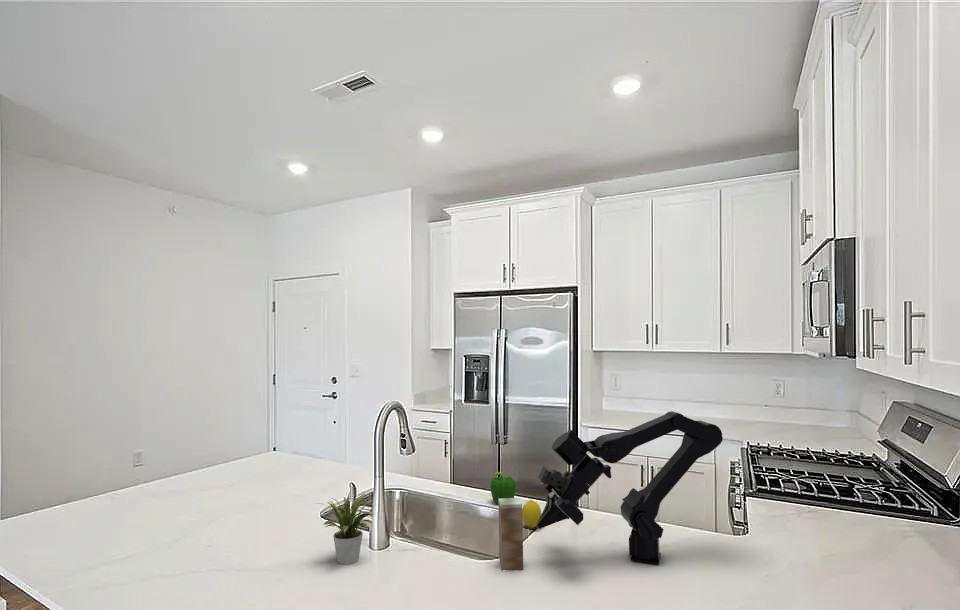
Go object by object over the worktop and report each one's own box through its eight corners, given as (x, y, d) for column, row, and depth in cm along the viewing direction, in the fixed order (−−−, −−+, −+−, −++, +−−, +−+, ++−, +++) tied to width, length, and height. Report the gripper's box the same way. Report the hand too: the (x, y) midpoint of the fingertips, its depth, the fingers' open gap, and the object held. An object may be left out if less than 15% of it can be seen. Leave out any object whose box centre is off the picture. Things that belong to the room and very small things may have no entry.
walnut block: (519, 560, 125) (518, 497, 126) (523, 569, 120) (522, 504, 121) (499, 561, 125) (498, 498, 126) (502, 571, 120) (501, 505, 121)
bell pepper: (519, 500, 173) (518, 469, 173) (512, 507, 165) (511, 476, 166) (495, 498, 175) (494, 468, 176) (487, 505, 168) (487, 474, 168)
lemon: (540, 532, 143) (540, 503, 144) (521, 531, 144) (520, 502, 145) (542, 525, 148) (541, 497, 149) (523, 524, 150) (522, 496, 150)
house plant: (318, 579, 117) (319, 506, 118) (308, 557, 129) (309, 490, 130) (380, 566, 123) (379, 496, 124) (364, 546, 135) (364, 482, 137)
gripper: (549, 447, 134) (508, 492, 133) (568, 464, 116) (520, 516, 114) (579, 477, 135) (539, 522, 133) (603, 498, 116) (556, 551, 114)
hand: (538, 527), depth 123 cm, fingers closed
